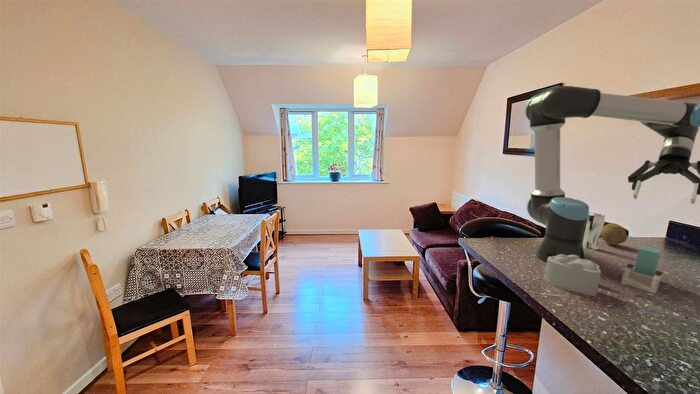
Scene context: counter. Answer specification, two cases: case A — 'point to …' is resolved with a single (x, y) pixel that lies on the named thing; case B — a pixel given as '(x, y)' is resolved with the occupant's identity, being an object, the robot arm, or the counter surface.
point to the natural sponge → (613, 234)
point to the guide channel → (641, 279)
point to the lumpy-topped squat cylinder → (573, 273)
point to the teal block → (647, 261)
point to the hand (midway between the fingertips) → (662, 198)
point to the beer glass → (593, 230)
